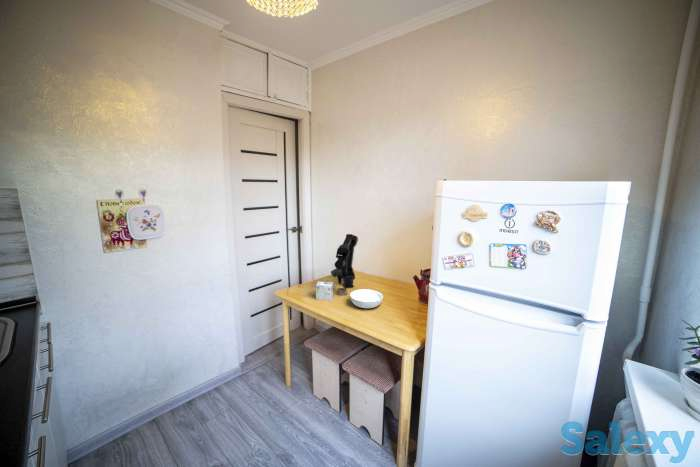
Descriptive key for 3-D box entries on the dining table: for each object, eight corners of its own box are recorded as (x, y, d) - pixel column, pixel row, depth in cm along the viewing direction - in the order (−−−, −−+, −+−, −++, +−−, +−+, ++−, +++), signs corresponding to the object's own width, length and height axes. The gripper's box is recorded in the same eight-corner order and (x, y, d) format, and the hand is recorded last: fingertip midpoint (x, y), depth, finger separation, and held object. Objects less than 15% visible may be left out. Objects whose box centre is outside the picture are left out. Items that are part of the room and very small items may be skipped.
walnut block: (344, 292, 196) (344, 287, 195) (347, 295, 191) (347, 289, 191) (337, 293, 194) (337, 288, 193) (340, 296, 189) (340, 290, 189)
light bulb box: (333, 296, 188) (333, 281, 186) (331, 300, 181) (331, 285, 180) (317, 295, 189) (317, 281, 187) (315, 299, 182) (315, 284, 181)
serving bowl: (379, 314, 163) (379, 303, 162) (345, 309, 169) (345, 298, 168) (385, 300, 183) (385, 291, 182) (354, 296, 189) (355, 287, 188)
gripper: (326, 262, 193) (326, 283, 196) (338, 270, 177) (337, 293, 180) (341, 260, 198) (340, 281, 201) (353, 268, 182) (352, 290, 185)
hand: (342, 286), depth 192 cm, fingers open, 9 cm apart
